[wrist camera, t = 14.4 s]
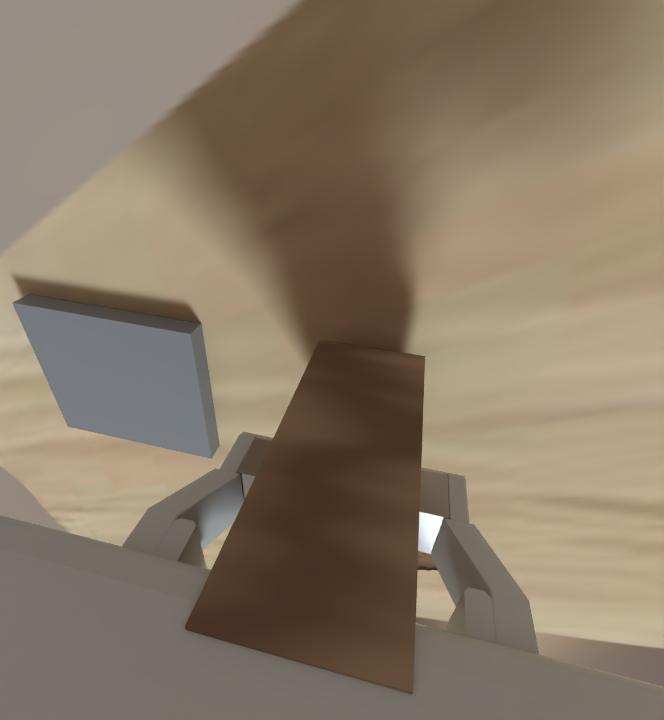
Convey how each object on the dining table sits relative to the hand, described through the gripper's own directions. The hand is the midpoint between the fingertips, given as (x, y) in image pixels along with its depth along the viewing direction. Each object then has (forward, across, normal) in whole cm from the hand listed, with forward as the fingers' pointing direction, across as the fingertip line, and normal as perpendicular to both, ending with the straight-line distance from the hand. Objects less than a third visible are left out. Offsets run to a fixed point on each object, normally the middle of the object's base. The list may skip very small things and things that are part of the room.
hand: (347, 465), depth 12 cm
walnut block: (+4, 0, 0) cm, 4 cm away
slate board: (+5, +8, +3) cm, 10 cm away
